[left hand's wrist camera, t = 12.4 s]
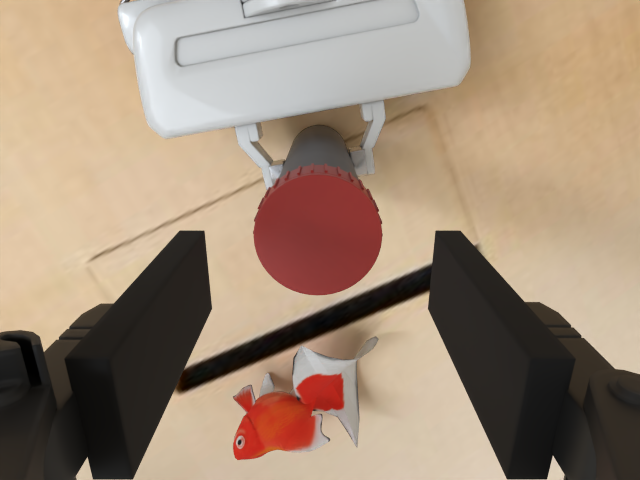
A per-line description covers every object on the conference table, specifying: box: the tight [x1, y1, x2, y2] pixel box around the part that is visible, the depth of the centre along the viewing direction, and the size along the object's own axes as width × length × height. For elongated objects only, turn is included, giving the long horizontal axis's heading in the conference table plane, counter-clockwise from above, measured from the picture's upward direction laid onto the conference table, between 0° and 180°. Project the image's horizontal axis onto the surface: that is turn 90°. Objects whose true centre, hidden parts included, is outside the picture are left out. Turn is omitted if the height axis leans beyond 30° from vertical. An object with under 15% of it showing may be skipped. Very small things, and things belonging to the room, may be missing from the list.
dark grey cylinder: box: [279, 125, 359, 180], centre depth 27 cm, size 4×4×19 cm
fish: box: [233, 337, 378, 460], centre depth 39 cm, size 11×16×10 cm
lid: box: [253, 163, 382, 295], centre depth 18 cm, size 5×5×2 cm
